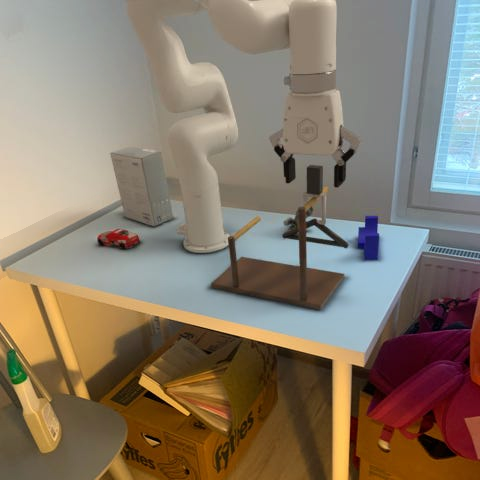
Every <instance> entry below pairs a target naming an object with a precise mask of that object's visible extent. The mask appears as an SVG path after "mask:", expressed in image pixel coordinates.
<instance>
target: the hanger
mask: <svg viewBox="0 0 480 480" xmlns="http://www.w3.org/2000/svg"><path fill="white" fill-rule="evenodd" d="M323 184H324V166H323V165H316V164H309V165H307V167H306V191H304V192H302V193H303V194H302V197H303V200H302V201H303V202H302V203H303V204H302V206H303V205H304V204H306V203H307V202H308V201H309V200H308V199H309V197H311V198H312V197H318V198H321V219H317V218H312V219H310V220H308V221H306V229H307V230H308V229H309V228H312V227H313V226H314V227H316V228H317V229H318V230H319V231H321V232H322V233H323V234H325V235H326V236H327V237H329V238H330V239H325V238H318V237H312V236H306V243H313V244H320V245H325V246H332V247H338V248H344V249H347V248H349V246H350V244H349V242H347V241H346V240H345V239H344V238H342V237H341V236H340V235H338V234H337V233H336V232H334V231H333V230H332V229H330V228H329V227H328V226H326V223H327V193H326V194H321V193H322V192H323V188H324V187H323V186H324V185H323ZM292 228H293V227H292ZM290 229H291V228H290ZM290 229H288V230H287V231H285V232H283V233H282V235H281V237H282V239H284V240H286V239H287V240H294V241H299V230H298V227H295V228H293V229H291V230H290ZM297 233H298V234H297ZM295 234H297V235H295Z"/></svg>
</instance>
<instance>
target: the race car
mask: <svg viewBox="0 0 480 480" xmlns="http://www.w3.org/2000/svg"><path fill="white" fill-rule="evenodd" d="M96 240H97V243H98V245H100V247H101V246H108V247H114V248H120V249H121V250H125V249H131V248H133V247H135V246H136V245H138V244H140V243H141V238H140V236H139V234H137V233H136V232H132V231H130V230H128V229H124V228H116V229H114V230H108V231H107V230H106V231H104V232H100V234H98V235H97V238H96Z"/></svg>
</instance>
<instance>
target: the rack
mask: <svg viewBox="0 0 480 480" xmlns="http://www.w3.org/2000/svg"><path fill="white" fill-rule="evenodd" d="M329 189H330V188H329V187H327V186H324V187H323V192H322V193H321V194H326V195H327V194H328V192H329ZM320 200H322V198H318V197H311V198H310V199H309V200H308V202H307V203H306V204H304V205H303V204H302V206H299V207H297V210H298V230H299V233H298V235H299V240H298V259H299V261H298V262H299V264H298V265H296V264H295V265H293V264H289V263H288V264H287V263H283V262H276V261H271V260H264V259H258V258H251V257H245V256H241V257H240V258H237V248H236V241H237V240H238V239H239V238H241V237H242V236H243V235H244V234H246V233H247V232H248V231H250V229H252V228H253V227H254V226H256V225H257V224H258V223H259V222H261V221H262V220H261V216H255V217H254V218H253V219H252V220H250V221H249V222H247V224H245V225H244V226H243V227H241V228H240V229H239V230H238V231H236V232H235V233H234V234H232V235H230V237H228V252H229V263H230V266H229V267H228V268H226V270H225V271H223V273H221V274H220V275H219V276H218V277H217V278H215V279H214V280H213V281H212V282H211V283H210V286H211V288H212V289H215V290H221V291H225V292H226V291H227V292H230V293H231V292H232V293H236V294H240V295H244V296H245V295H246V296H250V297H256V298H260V299H265V300H270V301H274V302H279V303H284V304H289V305H294V306H299V307H303V308H309V309H313V310H317V311H321V310H322V309H323V307H325V305H326V304H327V303H328V301H329V300H330V298H331V297H332V295H334V293H335V292H336V290H337V289H338V288H339V286H340V285H341V283H343V281H344V280H345V273H342V272H335V271H331V270H325V269H318V268H312V267H308V266H307V265H308V262H307V261H308V259H307V258H308V257H307V254H308V253H307V242H306V237H307V231H306V222H307V218H306V211H307V210H309V209H310V208H311V207H312V208H313V206H315V204H316V203H318V202H319V201H320Z"/></svg>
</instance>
